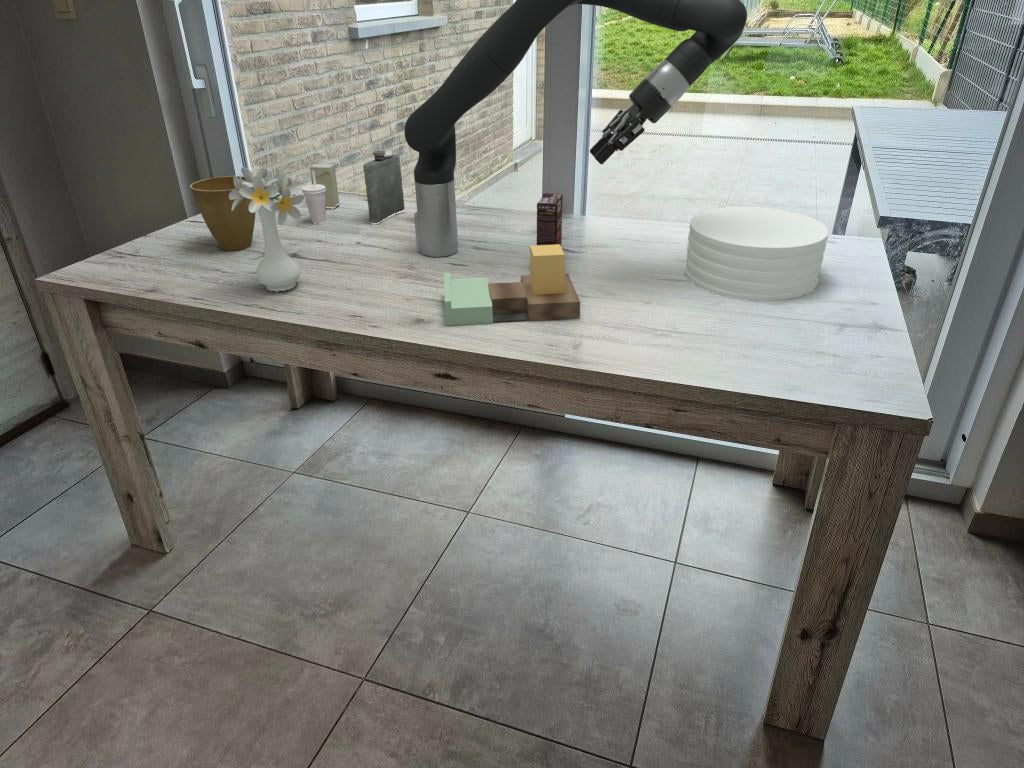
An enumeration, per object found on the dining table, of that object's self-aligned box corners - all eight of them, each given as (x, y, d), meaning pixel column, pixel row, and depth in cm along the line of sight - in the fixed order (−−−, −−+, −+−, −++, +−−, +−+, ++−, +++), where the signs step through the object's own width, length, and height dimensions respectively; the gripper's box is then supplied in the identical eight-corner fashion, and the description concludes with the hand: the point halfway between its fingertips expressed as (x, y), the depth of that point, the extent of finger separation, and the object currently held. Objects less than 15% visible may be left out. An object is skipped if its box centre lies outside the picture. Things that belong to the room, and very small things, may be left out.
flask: (365, 223, 192) (357, 156, 183) (396, 209, 203) (389, 145, 194) (376, 225, 191) (368, 157, 182) (406, 211, 202) (400, 146, 193)
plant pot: (242, 258, 170) (228, 192, 162) (192, 252, 174) (176, 188, 166) (279, 239, 182) (267, 177, 174) (231, 234, 186) (217, 173, 178)
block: (559, 281, 144) (559, 244, 140) (563, 293, 139) (564, 254, 135) (530, 283, 144) (530, 245, 140) (533, 294, 138) (533, 256, 134)
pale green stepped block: (488, 292, 149) (487, 270, 146) (492, 322, 136) (492, 299, 133) (445, 295, 148) (444, 272, 145) (446, 325, 135) (444, 301, 133)
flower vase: (291, 306, 144) (268, 183, 132) (232, 288, 153) (205, 172, 141) (336, 285, 154) (319, 169, 141) (279, 270, 163) (257, 159, 150)
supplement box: (556, 274, 157) (557, 204, 149) (535, 273, 158) (535, 203, 150) (562, 261, 164) (563, 193, 156) (541, 260, 165) (542, 192, 157)
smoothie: (327, 225, 191) (319, 173, 184) (304, 226, 191) (295, 174, 184) (333, 218, 197) (325, 167, 190) (310, 218, 197) (302, 168, 190)
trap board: (567, 288, 150) (567, 273, 148) (579, 318, 137) (580, 301, 135) (487, 292, 149) (486, 277, 147) (491, 323, 136) (491, 306, 134)
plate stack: (740, 311, 139) (748, 256, 133) (659, 265, 161) (664, 216, 155) (846, 287, 148) (859, 234, 142) (757, 247, 171) (764, 200, 165)
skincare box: (314, 209, 205) (308, 166, 199) (320, 204, 209) (314, 163, 203) (335, 209, 204) (329, 167, 198) (340, 205, 208) (335, 163, 202)
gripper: (637, 72, 140) (576, 137, 145) (656, 82, 128) (588, 152, 133) (661, 100, 143) (600, 163, 148) (682, 111, 131) (614, 179, 136)
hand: (595, 157), depth 141 cm, fingers open, 4 cm apart
